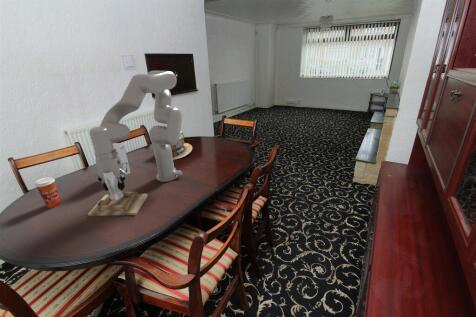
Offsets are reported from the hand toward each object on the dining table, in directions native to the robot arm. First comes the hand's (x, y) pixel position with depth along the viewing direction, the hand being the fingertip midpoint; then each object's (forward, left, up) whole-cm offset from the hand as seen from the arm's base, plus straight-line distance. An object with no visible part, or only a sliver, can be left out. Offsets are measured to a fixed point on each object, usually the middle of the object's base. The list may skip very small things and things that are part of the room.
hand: (115, 188), depth 112 cm
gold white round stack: (-13, -65, -10) cm, 67 cm away
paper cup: (+34, -2, -10) cm, 35 cm away
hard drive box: (+14, -28, -10) cm, 33 cm away
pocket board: (0, 0, -9) cm, 9 cm away
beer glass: (0, 0, -5) cm, 5 cm away
